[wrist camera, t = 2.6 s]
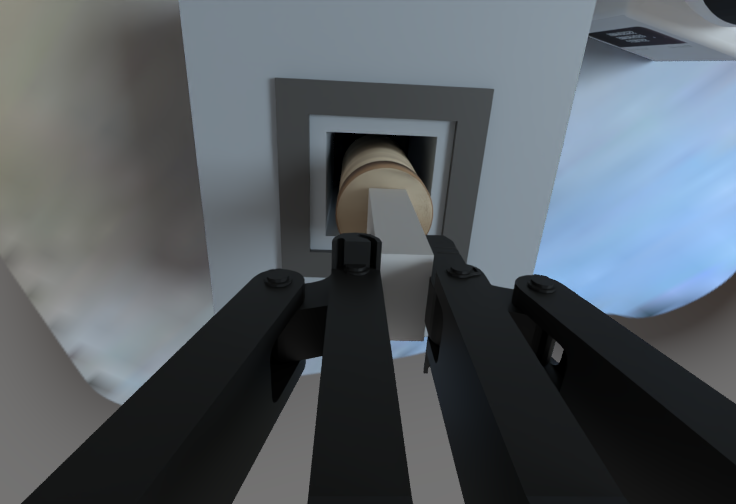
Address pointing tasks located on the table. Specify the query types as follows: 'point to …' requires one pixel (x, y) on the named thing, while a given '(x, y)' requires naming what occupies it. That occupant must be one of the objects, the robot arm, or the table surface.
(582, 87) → the table surface
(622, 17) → the container
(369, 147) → the peg
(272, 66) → the socket block
